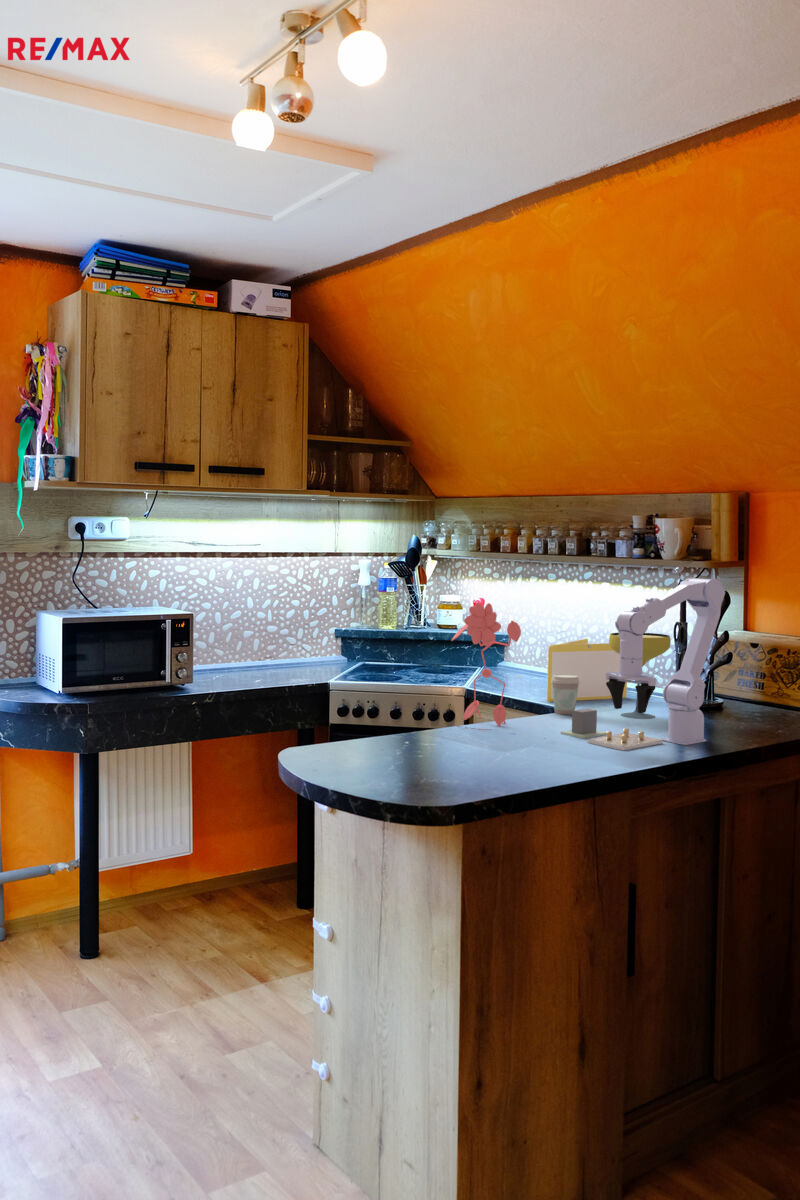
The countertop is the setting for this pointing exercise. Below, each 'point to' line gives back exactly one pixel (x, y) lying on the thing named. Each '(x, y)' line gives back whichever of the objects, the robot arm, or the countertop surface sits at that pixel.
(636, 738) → the plate
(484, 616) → the figurine
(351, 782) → the countertop surface
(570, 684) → the coffee cup
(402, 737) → the countertop surface
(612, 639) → the cocktail glass
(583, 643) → the tabletop whiteboard
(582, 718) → the grey block on base
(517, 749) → the countertop surface
